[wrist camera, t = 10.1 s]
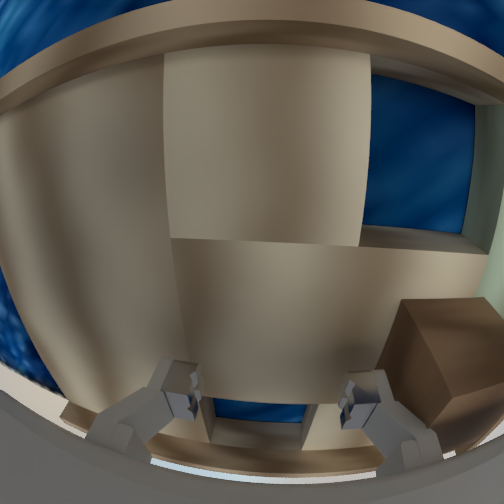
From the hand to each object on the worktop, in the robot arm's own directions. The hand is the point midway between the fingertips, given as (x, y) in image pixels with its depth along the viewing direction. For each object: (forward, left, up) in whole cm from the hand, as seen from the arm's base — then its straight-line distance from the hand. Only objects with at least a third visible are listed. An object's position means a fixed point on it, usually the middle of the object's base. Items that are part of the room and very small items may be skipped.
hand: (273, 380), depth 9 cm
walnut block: (+7, 0, -2) cm, 8 cm away
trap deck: (0, 0, -4) cm, 4 cm away
